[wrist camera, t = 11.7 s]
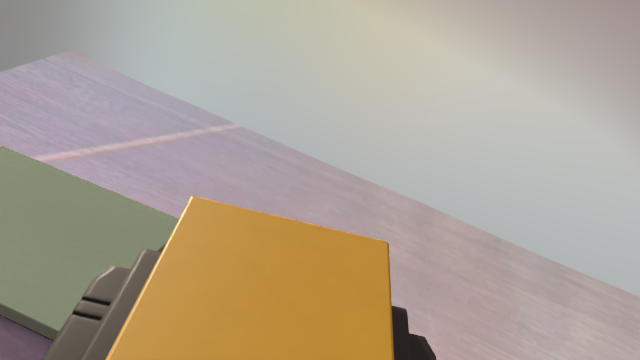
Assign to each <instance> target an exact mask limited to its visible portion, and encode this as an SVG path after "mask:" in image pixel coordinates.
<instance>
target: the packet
mask: <svg viewBox="0 0 640 360" xmlns="http://www.w3.org/2000/svg"><path fill="white" fill-rule="evenodd" d="M106 360H394V347H393V326H392V305H391V284H390V263H389V245H388V243H387V242H386V241H381V240H377V239H373V238H369V237H364V236H360V235H356V234H352V233H348V232H343V231H339V230H335V229H331V228H326V227H322V226H318V225H314V224H310V223H305V222H301V221H297V220H293V219H288V218H284V217H280V216H276V215H272V214H267V213H263V212H259V211H255V210H251V209H246V208H242V207H238V206H234V205H229V204H225V203H221V202H217V201H213V200H208V199H204V198H200V197H196V196H192V197H191V198H190V199H189V201H188V203H187V205H186V207H185V209H184V210H183V212H182V214H181V216H180V218H179V220H178V222H177V224H176V226H175V228H174V230H173V232H172V233H171V235H170V237H169V239H168V241H167V243H166V245H165V247H164V249H163V251H162V253H161V254H160V256H159V258H158V260H157V262H156V264H155V266H154V268H153V270H152V272H151V274H150V275H149V277H148V279H147V281H146V283H145V285H144V287H143V289H142V291H141V293H140V295H139V296H138V298H137V300H136V302H135V304H134V306H133V308H132V310H131V312H130V314H129V316H128V317H127V319H126V321H125V323H124V325H123V327H122V329H121V331H120V333H119V335H118V337H117V338H116V340H115V342H114V344H113V346H112V348H111V350H110V352H109V354H108V356H107V358H106Z"/></svg>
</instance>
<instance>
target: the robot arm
mask: <svg viewBox="0 0 640 360" xmlns="http://www.w3.org/2000/svg"><path fill="white" fill-rule="evenodd" d="M161 253H162V252H158V251H154V250H150V249H145V248H143V249H142V250H141V252H140V253H139V255H138V257H137V258H136V260H135V262H134V264H133V265H132V267H131V269H127V268H122V267H118V266H111V267H110V268H108V269H107V270H106V271H104V272H103V273H101V274H100V275H98V276H97V277H95V278H94V279H93V280H92V282H91V283H90V285H89V286H88V288H87V290H86V291H85V293H84V294H83V296H82V299H81V300H79V302H78V303H77V305H76V306H75V308H74V310H73V312H72V315H71V314H70V316H69V317H68V319H67V320H66V322H65V323H64V325H63V327H62V328H61V330H60V331H59V333H58V334H57V336H56V337H55V339H54V340H53V342H52V343H51V345H50V347H49V348H48V350H47V351H46V353H45V354H44V356H43V357H42V359H41V360H106V358H107V356H108V354H109V352H110V350H111V348H112V346H113V344H114V342H115V340H116V338H117V337H118V335H119V333H120V331H121V329H122V327H123V325H124V323H125V321H126V319H127V317H128V316H129V314H130V312H131V310H132V308H133V306H134V304H135V302H136V300H137V298H138V296H139V295H140V293H141V291H142V289H143V287H144V285H145V283H146V281H147V279H148V277H149V275H150V274H151V272H152V270H153V268H154V266H155V264H156V262H157V260H158V258H159V256H160V254H161ZM392 326H393V347H394V360H436V356H435V354H434V353H433V351H432V349H431V347H430V346H429V344H428V342H427V340H426V339H425V337H423V336H418V335H414V334H409V330H408V317H407V311H406V309H404V308H400V307H395V306H392Z"/></svg>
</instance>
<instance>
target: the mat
mask: <svg viewBox="0 0 640 360" xmlns="http://www.w3.org/2000/svg"><path fill="white" fill-rule="evenodd" d="M178 220H179V219H178V218H176V217H173V216H171V215H168V214H166V213H163V212H161V211H159V210H156V209H154V208H151V207H149V206H147V205H144V204H142V203H139V202H137V201H135V200H132V199H130V198H127V197H125V196H122V195H120V194H118V193H115V192H113V191H110V190H108V189H106V188H103V187H101V186H98V185H96V184H93V183H91V182H89V181H86V180H84V179H81V178H79V177H77V176H74V175H72V174H69V173H67V172H64V171H62V170H60V169H57V168H55V167H52V166H50V165H48V164H45V163H43V162H40V161H38V160H36V159H33V158H31V157H28V156H26V155H23V154H21V153H19V152H16V151H14V150H11V149H9V148H7V147H4V146H1V147H0V315H1V316H3V317H6V318H8V319H10V320H12V321H14V322H16V323H18V324H20V325H22V326H25V327H27V328H29V329H31V330H33V331H35V332H37V333H39V334H41V335H43V336H46V337H48V338H50V339H52V340H54V339H55V337H56V336H57V334H58V333H59V331H60V330H61V328H62V327H63V325H64V323H65V322H66V320H67V319H68V317H69V316H70V314H71V315H72V312H73V310H74V308H75V306H76V305H77V303H78V302H79V300H81V299H82V296H83V294H84V293H85V291H86V290H87V288H88V286H89V285H90V283H91V282H92V280H93V279H94V278H95V277H97V276H98V275H100V274H101V273H103V272H104V271H106V270H107V269H108V268H110V267H111V266H118V267H122V268H127V269H131V267H132V265H133V264H134V262H135V260H136V258H137V257H138V255H139V253H140V252H141V250H142V249H143V248H145V249H150V250H154V251H158V252H162V251H163V249H164V247H165V245H166V243H167V241H168V239H169V237H170V235H171V233H172V232H173V230H174V228H175V226H176V224H177V222H178Z"/></svg>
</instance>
